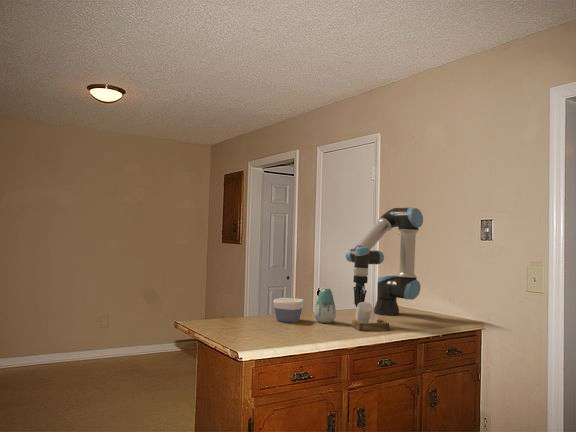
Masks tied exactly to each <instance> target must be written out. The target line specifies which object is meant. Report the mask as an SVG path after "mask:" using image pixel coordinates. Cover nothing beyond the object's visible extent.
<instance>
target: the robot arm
mask: <svg viewBox="0 0 576 432" xmlns="http://www.w3.org/2000/svg"><path fill="white" fill-rule="evenodd" d="M423 223H424V216H423V214H422V212H421V210H420V209H419V208H417V207H411V206H410V207H394V208H391V209H389V210H387V211H386V212H385V213H384V214H382V215H381V216H379V218H378V219H377V223H376V224H375V225H374V226H373V227H372V228H371V230H369V232H367V234H366V235H365V236H364V237H363V238H362V239H361V240H360V242H359V243H357V245H356V246H355V247H354V248H350V249H347V251H346V252H345V259H346V261H348V262H350V263H354V266H353V274H354V275H353V281H352V282H353V283H355V286H353V298H354V303H353V304H354V305H355V313H356V312H357V305H358V303H360V302H366V301H365V300H366V296H367V295H366V294H367V290H366V285H365V284H368V279H369V277H368V275H369V265H381V264H382V263H383V262H384V260H385V256H384V253H383V252H382V251H380V250H371V249H373V247H374V246H375V245H377V244H378V243H379V241H380V240H381V239H382V237H383V236H384V235H385V234H386V233H387V232H389V231H391V230H392V229H393V228H398V229H397V230H398V231H399V232H400V244H399V245H400V249H399V268H398V269H399V271H398V273H397V275H395V274H394V275H380V276H378V277H377V283H376V285H377V288H376V289H377V291H376V292H377V293H376V296H377V298H376V299H377V300H376V302H375V305H374V308H373V313H374V314H377V315H380V316H381V315H382V316H399V314H400V308H399V305H398V302H397V299H403V300H404V299H405V300H410V301H411V300H415V299H417V298H418V296H419V295H420V291H421V283H420V281H419V280H417V279H418V278H417V275H416V274H415V258H416V257H415V256H416V238H417V237H416V235H417V234H416V233H418V231H419V228H420V227H422V225H423ZM354 320H356V317H355V318H354Z"/></svg>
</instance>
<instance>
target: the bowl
mask: <svg viewBox="0 0 576 432" xmlns="http://www.w3.org/2000/svg"><path fill="white" fill-rule="evenodd" d="M272 303H273V307H274V313H275V318H276V321H277V322H281V323H282V322H283V323H296V322H297V323H298V321H300V319H301V316H302V315H301V314H302V311H303V307H304V303H305V301H304V299H301V298H294V297H293V298H292V297H279V298H276V299H274V300H273V302H272Z"/></svg>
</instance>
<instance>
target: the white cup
mask: <svg viewBox="0 0 576 432" xmlns="http://www.w3.org/2000/svg"><path fill="white" fill-rule="evenodd" d="M373 309H374V308H373V306H372V304H371V303H369V302H366V301H364V302H360V303H358V305H357V312H356V311H355V318H356V319H355V320H357V321H359V322H361V323H370V319H371V317H372V311H373Z"/></svg>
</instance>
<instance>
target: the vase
mask: <svg viewBox="0 0 576 432" xmlns="http://www.w3.org/2000/svg"><path fill="white" fill-rule="evenodd" d="M336 316H337V310H336V305H335V300H334V295H333V292H332V289H330V288H322V289H321V290H320V291H319V293H318V296H317V301H316V303H315V308H314V318H315V319H316V320H315V321H317V322H318V323H322V324H330V323H333V322H334V321H335V319H336Z"/></svg>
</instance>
